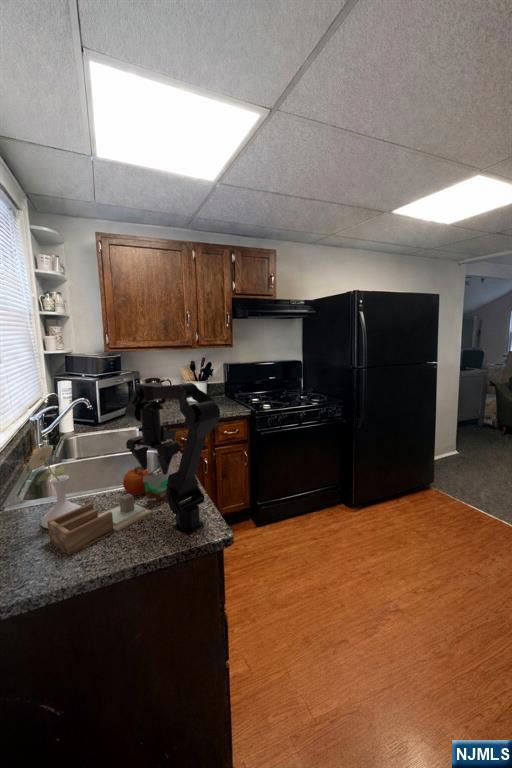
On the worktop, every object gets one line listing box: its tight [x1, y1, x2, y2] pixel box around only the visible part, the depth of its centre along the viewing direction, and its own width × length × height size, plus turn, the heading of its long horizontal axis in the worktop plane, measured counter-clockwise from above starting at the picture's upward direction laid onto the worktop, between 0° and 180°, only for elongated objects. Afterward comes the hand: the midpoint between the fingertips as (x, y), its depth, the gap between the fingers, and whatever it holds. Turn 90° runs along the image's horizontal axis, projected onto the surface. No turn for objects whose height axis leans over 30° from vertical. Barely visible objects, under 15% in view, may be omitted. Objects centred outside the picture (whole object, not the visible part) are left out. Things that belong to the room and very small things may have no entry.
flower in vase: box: [27, 444, 82, 529], centre depth 94 cm, size 13×11×25 cm
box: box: [47, 502, 115, 556], centre depth 88 cm, size 11×12×6 cm
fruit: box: [122, 465, 151, 496], centre depth 114 cm, size 10×10×10 cm
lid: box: [101, 492, 146, 526], centre depth 98 cm, size 8×10×5 cm
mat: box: [98, 504, 153, 532], centre depth 98 cm, size 13×12×1 cm
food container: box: [143, 465, 172, 504], centre depth 109 cm, size 12×6×10 cm, turn 166°
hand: (155, 471), depth 100 cm, fingers open, 9 cm apart
